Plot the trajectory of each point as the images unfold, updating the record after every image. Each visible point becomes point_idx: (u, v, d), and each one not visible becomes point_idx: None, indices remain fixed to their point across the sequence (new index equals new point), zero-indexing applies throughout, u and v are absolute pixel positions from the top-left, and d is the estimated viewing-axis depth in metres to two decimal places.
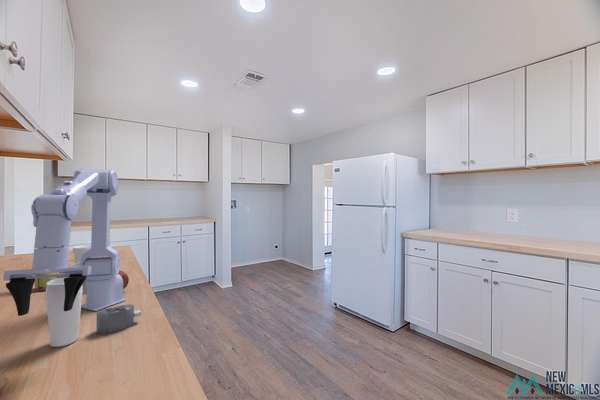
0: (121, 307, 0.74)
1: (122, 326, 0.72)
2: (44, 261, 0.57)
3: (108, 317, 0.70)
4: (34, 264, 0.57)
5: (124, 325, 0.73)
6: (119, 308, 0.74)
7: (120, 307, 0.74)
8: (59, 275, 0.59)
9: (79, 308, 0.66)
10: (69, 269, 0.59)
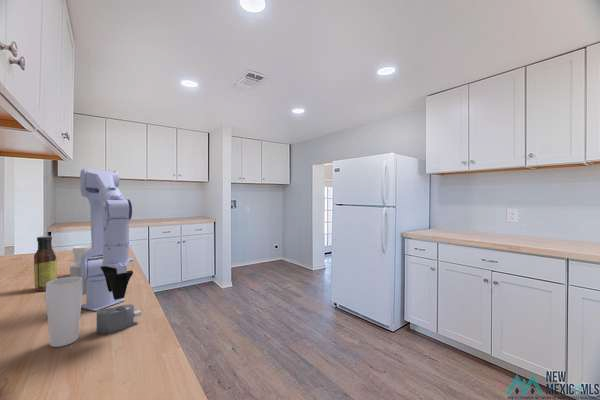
0: (121, 307, 0.74)
1: (122, 326, 0.72)
2: None
3: (108, 317, 0.70)
4: (127, 256, 0.73)
5: (124, 325, 0.73)
6: (119, 308, 0.74)
7: (120, 307, 0.74)
8: None
9: (79, 308, 0.66)
10: None
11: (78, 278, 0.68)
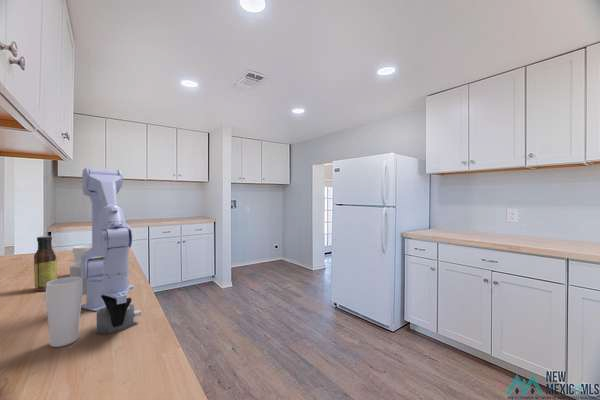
0: None
1: (122, 326, 0.72)
2: None
3: (108, 317, 0.70)
4: (127, 284, 0.73)
5: (124, 325, 0.73)
6: None
7: None
8: None
9: (79, 308, 0.66)
10: None
11: (78, 278, 0.68)
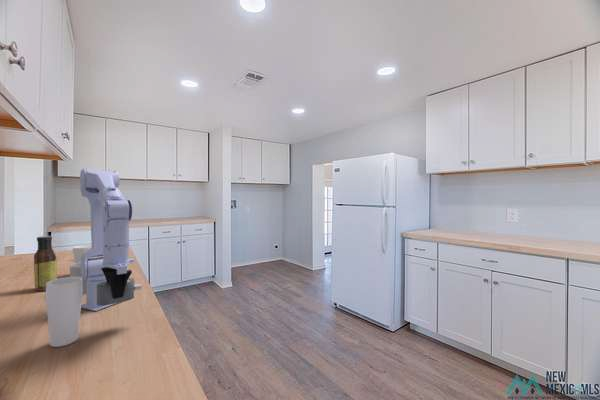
0: None
1: (122, 298, 0.72)
2: None
3: (109, 289, 0.70)
4: (127, 256, 0.73)
5: (124, 297, 0.73)
6: None
7: None
8: None
9: (79, 308, 0.66)
10: None
11: (78, 278, 0.68)
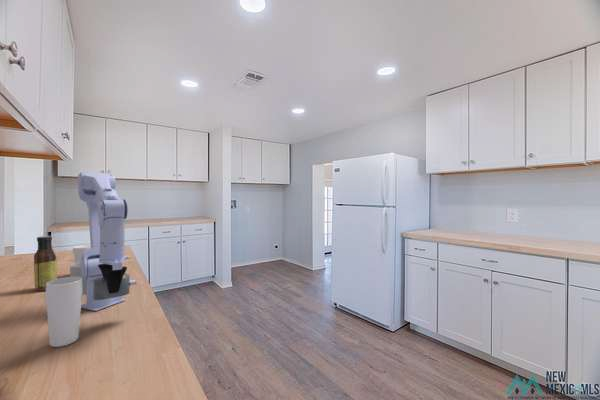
0: None
1: (118, 293, 0.76)
2: None
3: (105, 284, 0.74)
4: (122, 253, 0.77)
5: (120, 292, 0.76)
6: None
7: None
8: None
9: (79, 308, 0.66)
10: None
11: (78, 278, 0.68)
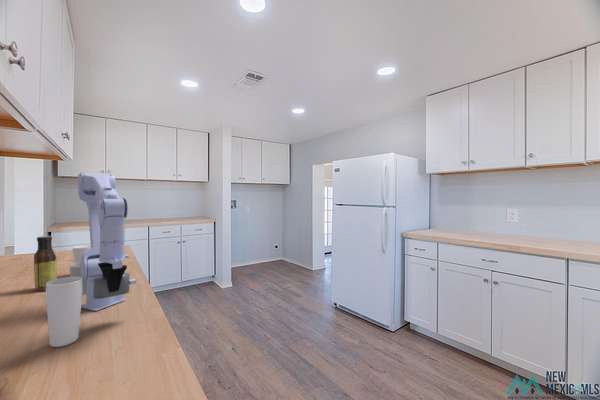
0: None
1: (118, 292, 0.76)
2: None
3: (105, 283, 0.74)
4: (122, 252, 0.77)
5: (120, 291, 0.76)
6: None
7: None
8: None
9: (79, 308, 0.66)
10: None
11: (78, 278, 0.68)
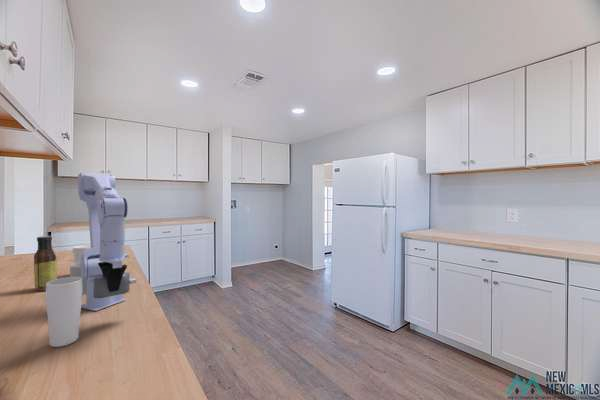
0: None
1: (118, 292, 0.76)
2: None
3: (105, 282, 0.74)
4: (122, 252, 0.77)
5: (120, 290, 0.76)
6: None
7: None
8: None
9: (79, 308, 0.66)
10: None
11: (78, 278, 0.68)
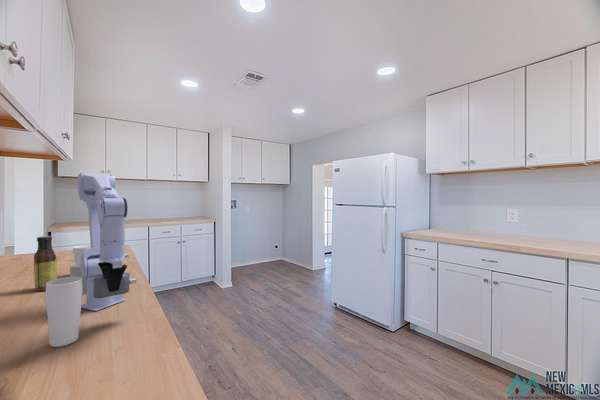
0: None
1: (118, 292, 0.76)
2: None
3: (105, 282, 0.74)
4: (122, 252, 0.77)
5: (120, 290, 0.76)
6: None
7: None
8: None
9: (79, 308, 0.66)
10: None
11: (78, 278, 0.68)
